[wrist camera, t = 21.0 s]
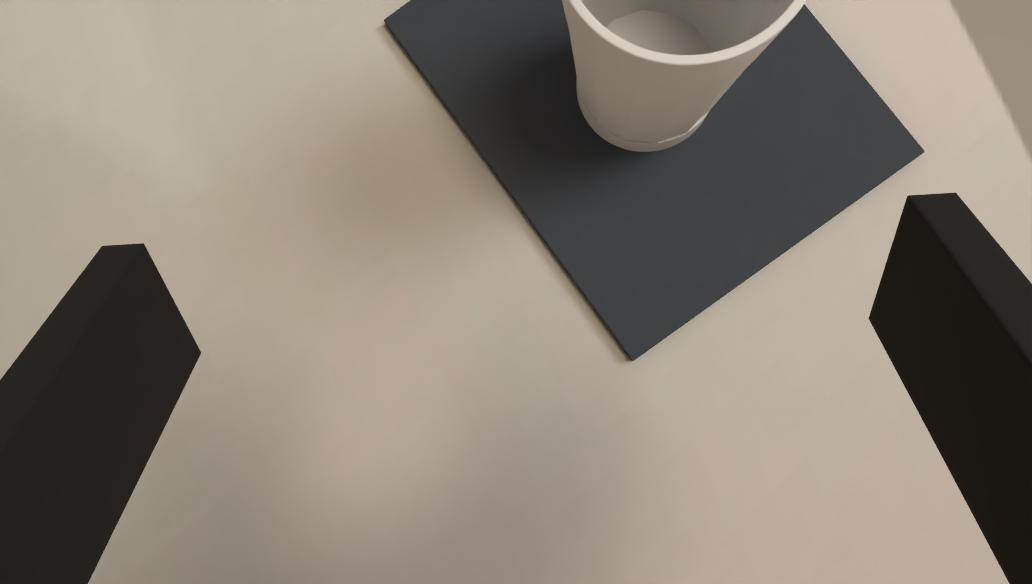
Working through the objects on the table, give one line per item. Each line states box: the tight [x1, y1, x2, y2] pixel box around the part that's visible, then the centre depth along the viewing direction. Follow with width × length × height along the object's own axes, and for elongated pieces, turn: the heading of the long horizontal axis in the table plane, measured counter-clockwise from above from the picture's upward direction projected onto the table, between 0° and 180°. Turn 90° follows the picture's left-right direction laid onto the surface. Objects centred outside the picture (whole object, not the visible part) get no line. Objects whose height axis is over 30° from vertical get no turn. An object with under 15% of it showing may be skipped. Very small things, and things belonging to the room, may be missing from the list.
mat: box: [384, 0, 924, 360], centre depth 33 cm, size 20×16×1 cm
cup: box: [562, 0, 806, 152], centre depth 27 cm, size 8×8×12 cm
